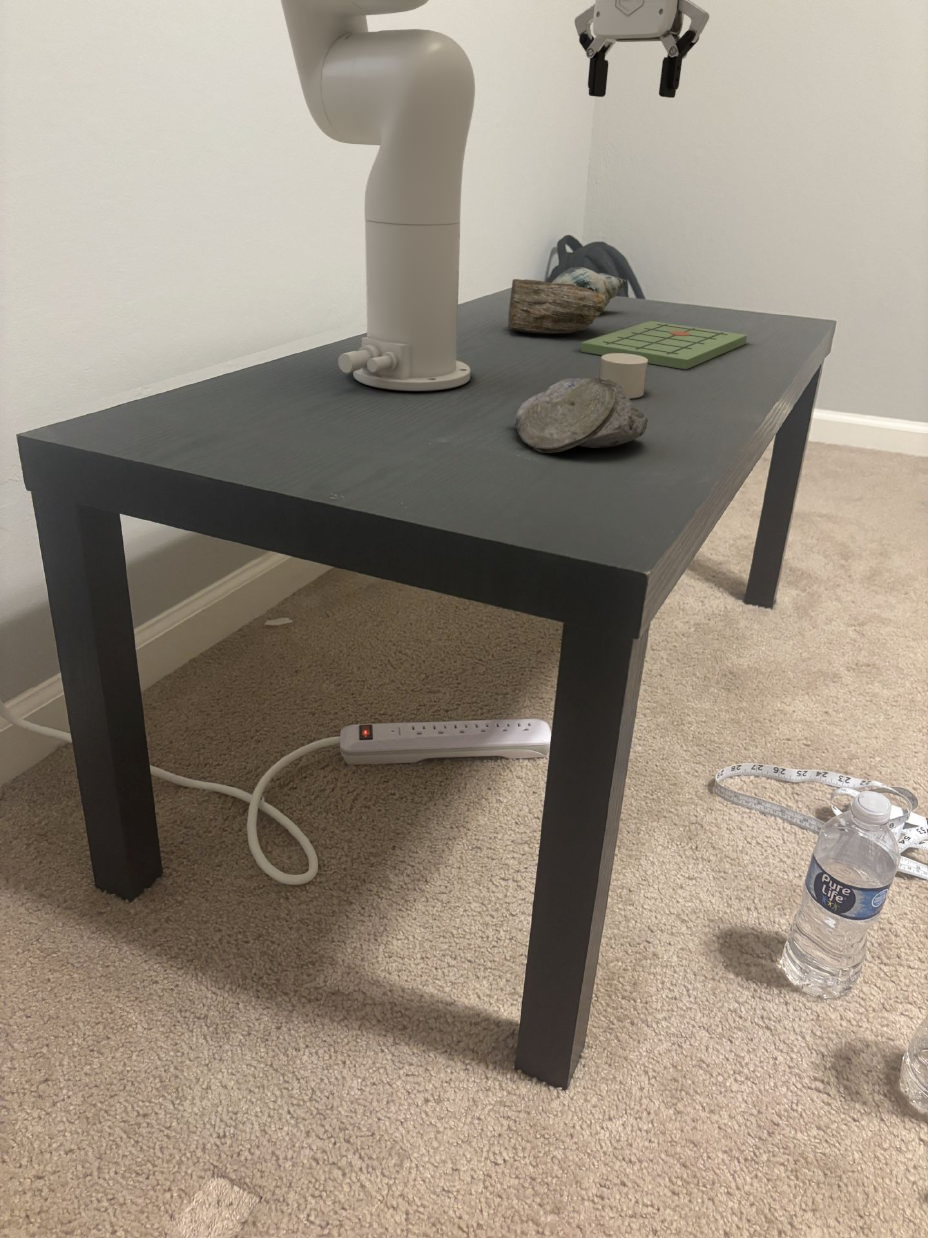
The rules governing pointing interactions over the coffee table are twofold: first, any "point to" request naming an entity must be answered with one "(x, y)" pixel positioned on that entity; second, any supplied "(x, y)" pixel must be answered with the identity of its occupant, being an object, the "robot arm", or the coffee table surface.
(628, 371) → the beige cylinder
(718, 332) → the board
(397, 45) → the robot arm
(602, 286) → the seashell
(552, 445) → the fossilized seashell
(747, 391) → the coffee table surface
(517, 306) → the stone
